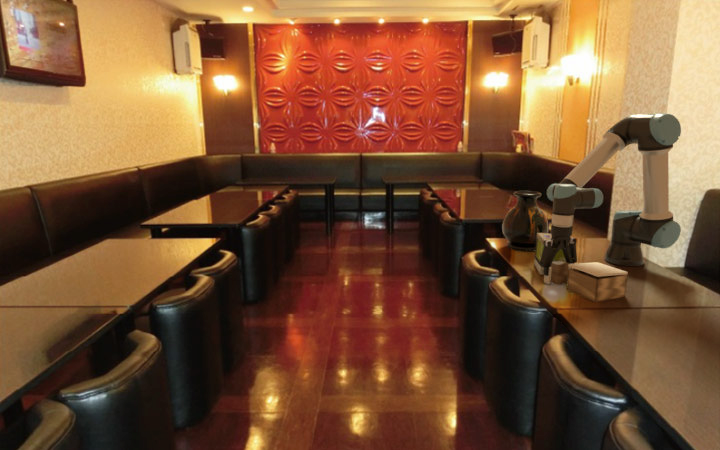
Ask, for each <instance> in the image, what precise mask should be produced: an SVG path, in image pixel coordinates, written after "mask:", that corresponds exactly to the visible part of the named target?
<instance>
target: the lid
mask: <svg viewBox="0 0 720 450" xmlns="http://www.w3.org/2000/svg"><path fill="white" fill-rule="evenodd" d="M568 266H569V267H572V269H574V268H575V269H578V270H580V271H583V272H586V273H589V274H591V275H594V276H597V277H600V276H613V275H628V271H626V270H624V269H623V270H622V269H620V268H616V267H613V266H610V265H608V264H605V263H601V262H598V261H596V262H595V261H593V262H580V263H579V262H576V263H575V264H568Z"/></svg>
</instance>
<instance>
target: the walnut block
mask: <svg viewBox="0 0 720 450" xmlns="http://www.w3.org/2000/svg"><path fill="white" fill-rule="evenodd" d="M550 267H551V268H552V271H551V283H550V284H553V285H556V286H559V285H565V284H566V285H567V275H568V263H565V262H562V261H560V260H557V261H553V262H552V264H551V266H550Z"/></svg>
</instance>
